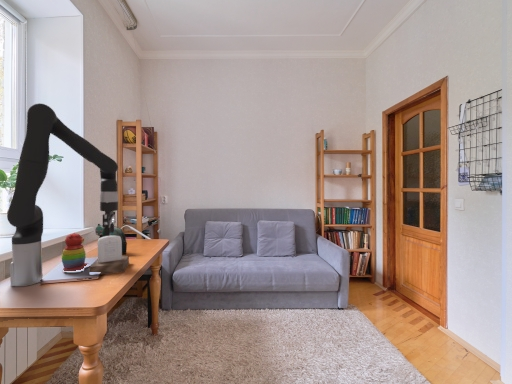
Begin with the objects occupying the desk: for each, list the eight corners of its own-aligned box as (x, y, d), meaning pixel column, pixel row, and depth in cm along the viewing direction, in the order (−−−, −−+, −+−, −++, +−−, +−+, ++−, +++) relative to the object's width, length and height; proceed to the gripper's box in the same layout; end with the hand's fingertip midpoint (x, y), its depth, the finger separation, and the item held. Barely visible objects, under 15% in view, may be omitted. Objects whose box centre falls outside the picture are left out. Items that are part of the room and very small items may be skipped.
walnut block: (89, 275, 114) (88, 266, 114) (98, 266, 127) (98, 258, 127) (123, 272, 118) (123, 263, 118) (128, 263, 132) (128, 255, 132)
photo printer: (121, 258, 127) (121, 233, 127) (122, 260, 123) (121, 235, 123) (97, 261, 122) (97, 236, 121) (97, 263, 118) (97, 237, 118)
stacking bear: (82, 272, 118) (81, 235, 117) (57, 275, 115) (56, 236, 115) (91, 265, 128) (90, 231, 128) (68, 267, 126) (67, 232, 125)
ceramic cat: (94, 253, 151) (93, 220, 151) (104, 251, 158) (103, 219, 157) (121, 256, 146) (120, 221, 145) (129, 253, 152) (129, 220, 151)
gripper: (104, 200, 128) (104, 232, 128) (95, 201, 114) (96, 237, 115) (120, 200, 130) (121, 231, 130) (114, 201, 116) (114, 236, 117)
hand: (109, 234), depth 122 cm, fingers open, 8 cm apart
